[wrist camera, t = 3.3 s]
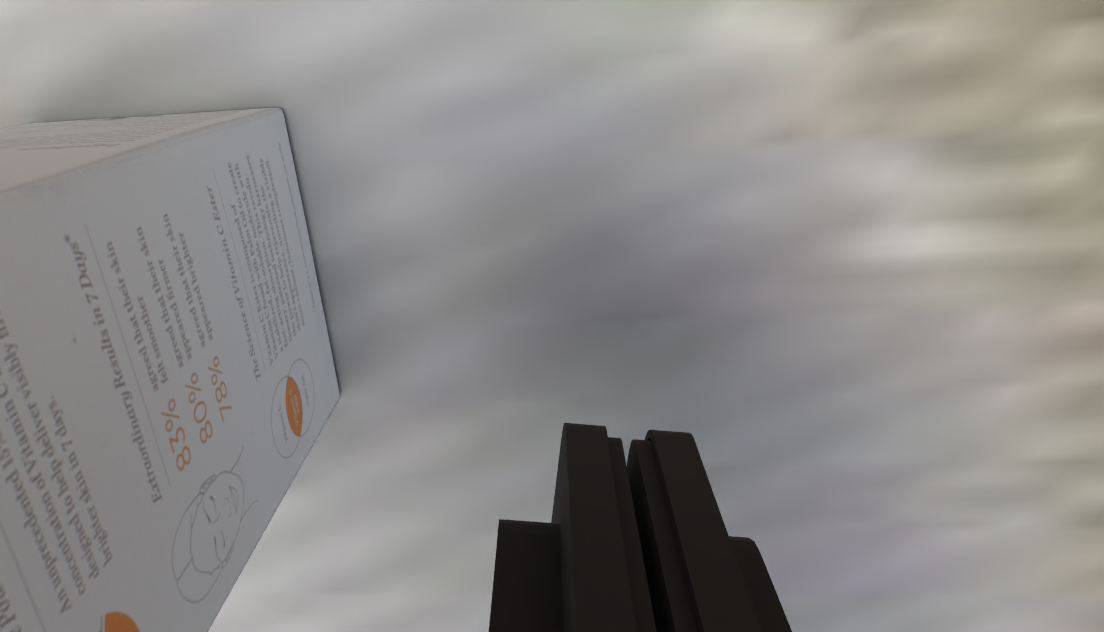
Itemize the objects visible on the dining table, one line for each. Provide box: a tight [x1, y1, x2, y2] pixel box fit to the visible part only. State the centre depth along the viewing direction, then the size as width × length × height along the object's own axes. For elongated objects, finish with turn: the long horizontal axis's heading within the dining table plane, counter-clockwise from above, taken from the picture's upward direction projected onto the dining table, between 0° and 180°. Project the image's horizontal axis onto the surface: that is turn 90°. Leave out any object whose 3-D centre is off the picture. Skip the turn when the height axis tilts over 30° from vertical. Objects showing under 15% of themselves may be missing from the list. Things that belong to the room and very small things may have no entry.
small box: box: [0, 107, 340, 632], centre depth 13 cm, size 8×6×13 cm
